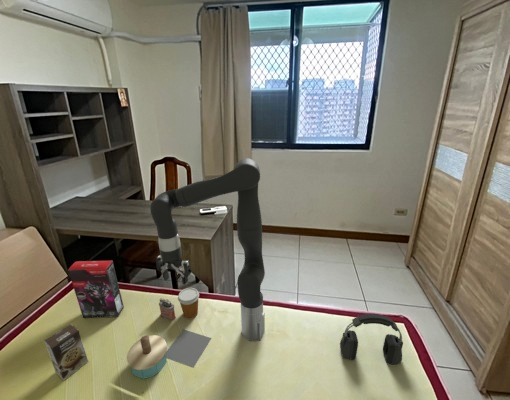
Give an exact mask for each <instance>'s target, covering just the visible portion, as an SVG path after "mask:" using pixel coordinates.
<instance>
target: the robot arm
mask: <svg viewBox="0 0 510 400" xmlns="http://www.w3.org/2000/svg"><path fill="white" fill-rule="evenodd" d="M260 180H261V171H260V167H259V165H258V163H257V162H256V161H254V160H253V159H251V158H249V157H247V158H242V159H240V160H239V161H238V162H236V164H235V165H234V168H233V169H232V170H230V171H228V172H226V173H225V174H222V175H221V176H217V177H214V178H210V179H205V180H199V181H196V182H192V183H190V184H187V185H184V186H182V187H180V188H174V189H170V190H166V191H164V192H161V193H159V194H158V195H157V196H156V197H155V198H154V199H153V200H152V202H151V203H150V207H149V208H150V210H149V211H150V215H151V217H152V219H153V223H154V224H155V226H156V231H157V236H158V247H159V253H160V254H159V255H158V256H156V257H155V264H156V270H157V271H158V272H159V271H160V272H161V273H162V278H163V280H164V281H167V280H169V278H170V276H169V270H172V271H175V272H177V273H178V274H179V275H180V277H181V282H182V285H186V284H187V283H188V281H189V278H188V277H189V276H190V275H191V274H192V273H193V272H192V267H191V262H190V260H189V259H187V260H183V259H182V254H183V253H182V252H183V251H182V246H181V240H180V239H181V238H180V236H179V232H178V225H177V221H176V219H175V218H173V215H172V211H173V210H174V209H176V208H178V207H183V208H186V207H191V206H194V205H196V204H198V203H201V202H204V201H207V200H209V199H212V198H215V197H218V196H219V197H220V196H222V195H226V194H227V195H228V194H231V193H235V192H237V207H236V208H237V209H236V230H237V231H236V232H237V239H238V242H239V243H240V245H241V247H242V249H243V252H244V265H243V267H242V269H241V271H240V273H238V277H237V280H236V281H237V293H238V294H237V295H238V298H239V300H240V318H241V320H240V323H241V334H242V338H244V339H246V341H247V340H248V341H249V342H255V341H260V342H261V340H262V338H263V335H264V333H265V328H266V327H265V326H266V324H265V323H266V321H265V316H266V315H265V312H264V294H263V293H262V291H261V285H262V283H263V282H264V281H263V280H264V279H265V276H266V275H265V274H266V273H265V265H264V257H263V223H262V213H261V206H260V200H259V182H260Z"/></svg>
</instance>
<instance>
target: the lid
mask: <svg viewBox="0 0 510 400" xmlns="http://www.w3.org/2000/svg"><path fill="white" fill-rule="evenodd" d="M167 350H168V346H167V342H166V340H165V338H164V337H162V336H161V335H160V336H159V335H157V334H156V335H155V334H154V335H143V336H141V338H140V339H138V340H137V341H136V342H135V343H133V344H132V345H131V346H130V348H129V350H128V352H127V355H126V362H127V364H128V366H129V367H130V369H131V368H133V369H136V370H145V369H148V368H151V367H153V366H155V365H156V364H157V363H159V362H160V361H161V360H162V359H163V357H164V356H165V354H166V351H167Z"/></svg>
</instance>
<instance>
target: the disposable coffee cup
mask: <svg viewBox="0 0 510 400" xmlns="http://www.w3.org/2000/svg"><path fill="white" fill-rule="evenodd" d="M199 298H200V292H199V291H198V289H197V288H194V287H186V288H184V289H182V290H181V291H180V292H179V293H178V296H177V301H178V302H179V303H180V307H181V310H182V314H183V317H184V318H185V319H188V320H190V319H194V318H196V317H197V316H198V313H199Z"/></svg>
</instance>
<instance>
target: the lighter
mask: <svg viewBox="0 0 510 400" xmlns="http://www.w3.org/2000/svg"><path fill="white" fill-rule="evenodd" d="M158 306H159V310H160V317H161V318H164V319H165V320H168V321H174V320H176V319H177V317H176V313H175V311H176V310H175V305H174V304H173V303H172V301H171V300H169V299H168V298H167V299H165V298H162V297H161V298H160V299H159V301H158Z"/></svg>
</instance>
